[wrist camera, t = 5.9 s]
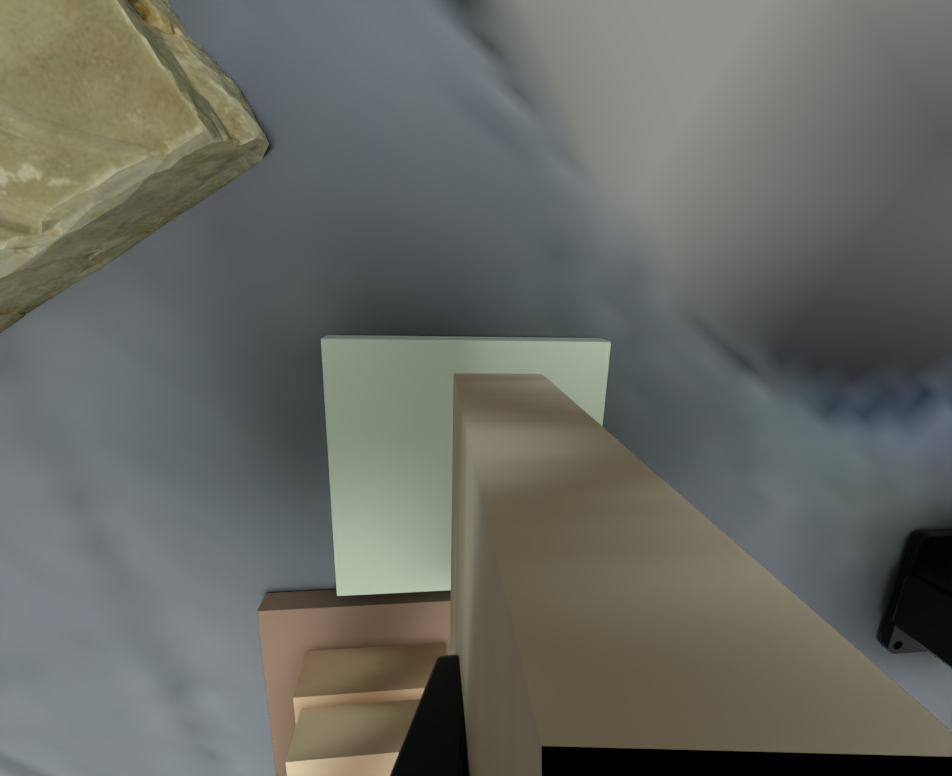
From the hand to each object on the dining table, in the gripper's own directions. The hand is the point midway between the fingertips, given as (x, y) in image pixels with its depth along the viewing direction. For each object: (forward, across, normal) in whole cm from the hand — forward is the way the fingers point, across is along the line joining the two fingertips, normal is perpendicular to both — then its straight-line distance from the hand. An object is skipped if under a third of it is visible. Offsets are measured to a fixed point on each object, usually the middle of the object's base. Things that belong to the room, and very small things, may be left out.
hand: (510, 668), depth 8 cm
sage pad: (+9, 0, 0) cm, 9 cm away
